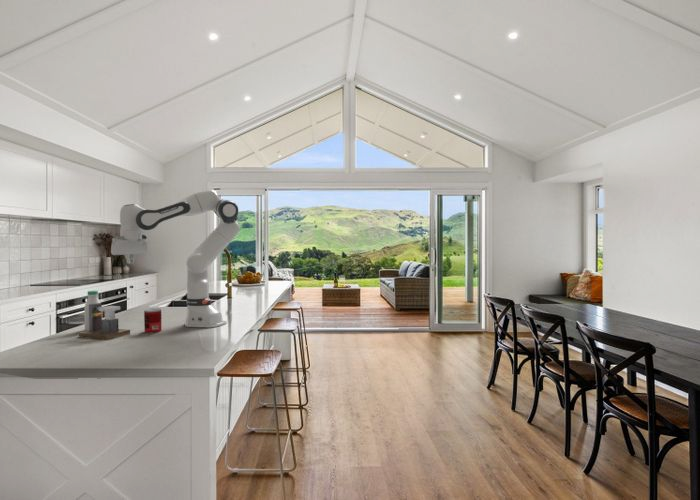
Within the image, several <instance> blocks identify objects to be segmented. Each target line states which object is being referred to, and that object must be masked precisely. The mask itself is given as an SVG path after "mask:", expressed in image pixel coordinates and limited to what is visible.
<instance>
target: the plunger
mask: <svg viewBox="0 0 700 500" xmlns="http://www.w3.org/2000/svg"><path fill="white" fill-rule="evenodd" d="M96 310H99V311H102V312H104V319H105V320H114V319H116V311H121V306H119V305H108V306H102V307H96Z"/></svg>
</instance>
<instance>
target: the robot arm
mask: <svg viewBox="0 0 700 500" xmlns="http://www.w3.org/2000/svg"><path fill="white" fill-rule="evenodd" d="M119 211H120V212H119V223H120V229H119V235H116V236H113V237H112V239H111V247H110V253H111V255H112V256H121V255H122V256H124V258H125V259H126V264H134V263H135V259H136V257H137V255H142V254H148V252H149V242H148V238H149V236H148V235H147V234H144V233H143V232H141V231H140V229H142V230H145V231H150V230H151V231H152V230H154V229H156V228H157V227H158V226H159V225H160V224H161V223H162V222H164V221H165V222H166V221H167V220H171V219H174V218H177V217H184V216H185V217H192V216H196V215H200V214H203V213H207V212H209V211H213V212H214V213H215V215H216V216H217V218H220V223H219V224H218V225H217V227H215V228H214V229H213V230H212V231H211V233H210V234H209V235H207V237H206V238H205V239H204V240H203V241H202V242H201V243H200V244H199V245H198V246H197V248H196V249H195V250H194V251H193V252H192V253H191V254H190V255H189V256H188V257H187V259H186V271H187V272H186V274H187V276H186V279H187V281H186V286H187V288H186V293H187V294H186V296H187V298H186V307H187V308H186V314H185V320H184V321H185V322H184V325H185V327H188V328H217V327H220V326H224V325H226V324H228V321H227V320H223V314H222V312H221V311H220V310H219V309H218V308H217V307H215V306H214V305H213V303H212V302H213V301H214V299H211V298H210V295H209V294H210V292H209V290H210V288H209V267H210V266H211V264H213V262H214V261H215V260H216V259H217V258H218V256H220V254H221V253H223V251H224V250H225V249H226V248H227V247H228V246H229V245H230V243H231V242H233V240H234V239H235V237H236V236H237V235H238V233H239V232H240V228H241V227H240V224H239V223H238V221H237V219H238V215H239V206H238V204H237V203H236V202H234V201H233V200H230V199H222V198H220V197H219V194H218V193H217V192H216V191H214V190H212V189H208V190H203V191H202V190H201V191H198V192H194V193H192V194H189V195H187V196H185V197H184V198H182V199H180V200H178V201H177V202H175V203H174V204H170V205H168V206H165V207H161V208H158V209H145V208H143V207H141V206H139V204H137V203H136V204H135V203H133V204H125V205H123V206H122V207H121V208H120V210H119Z"/></svg>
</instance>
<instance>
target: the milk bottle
mask: <svg viewBox="0 0 700 500" xmlns="http://www.w3.org/2000/svg"><path fill="white" fill-rule="evenodd" d="M95 303H101V301H100V299H99V291H98V290H89V291H87V300H86V303H85V304H84V314H83V315H84V331H89V304H95ZM101 307H103V306H102V305H101ZM101 312H102V313H103V311H101ZM101 320H103V315H101Z"/></svg>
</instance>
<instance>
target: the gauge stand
mask: <svg viewBox="0 0 700 500" xmlns="http://www.w3.org/2000/svg"><path fill="white" fill-rule="evenodd" d="M101 306H102V303H101V302H100V303H95V304H89V331H85V330H84V331H80V332H78V338H86V339H92V340H93V339H95V340H103V341H108V340H112V339H113V340H114V339H116V338H120V337H124V336H128V335H130V334H131V329H126V328H125V329H124V328H119V318H115V319H114V320H105V318H104V319H102V320H101V315H100V316H95V314H97V313H103V311H102V312H101V311H99V310H96V307H101Z"/></svg>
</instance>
